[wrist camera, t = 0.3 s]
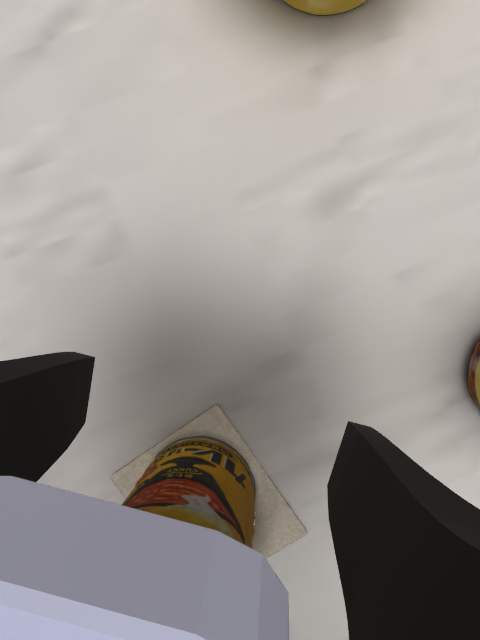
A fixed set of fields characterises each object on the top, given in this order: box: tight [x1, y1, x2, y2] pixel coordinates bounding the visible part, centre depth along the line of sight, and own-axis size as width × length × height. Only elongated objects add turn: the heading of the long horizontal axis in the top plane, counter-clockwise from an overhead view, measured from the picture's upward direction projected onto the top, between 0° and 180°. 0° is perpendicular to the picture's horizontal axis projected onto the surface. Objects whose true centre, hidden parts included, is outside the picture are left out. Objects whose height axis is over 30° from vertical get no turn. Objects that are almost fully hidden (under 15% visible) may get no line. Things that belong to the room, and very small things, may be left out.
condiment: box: [110, 404, 308, 558], centre depth 17 cm, size 7×8×12 cm
